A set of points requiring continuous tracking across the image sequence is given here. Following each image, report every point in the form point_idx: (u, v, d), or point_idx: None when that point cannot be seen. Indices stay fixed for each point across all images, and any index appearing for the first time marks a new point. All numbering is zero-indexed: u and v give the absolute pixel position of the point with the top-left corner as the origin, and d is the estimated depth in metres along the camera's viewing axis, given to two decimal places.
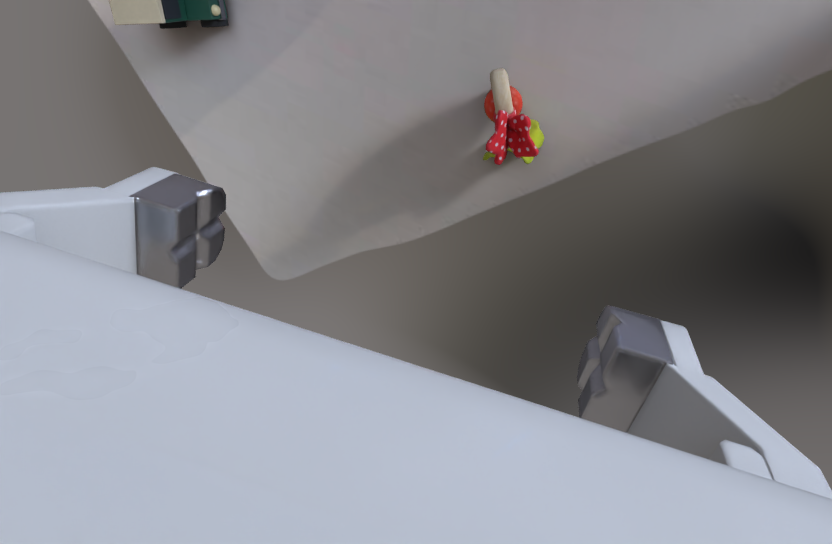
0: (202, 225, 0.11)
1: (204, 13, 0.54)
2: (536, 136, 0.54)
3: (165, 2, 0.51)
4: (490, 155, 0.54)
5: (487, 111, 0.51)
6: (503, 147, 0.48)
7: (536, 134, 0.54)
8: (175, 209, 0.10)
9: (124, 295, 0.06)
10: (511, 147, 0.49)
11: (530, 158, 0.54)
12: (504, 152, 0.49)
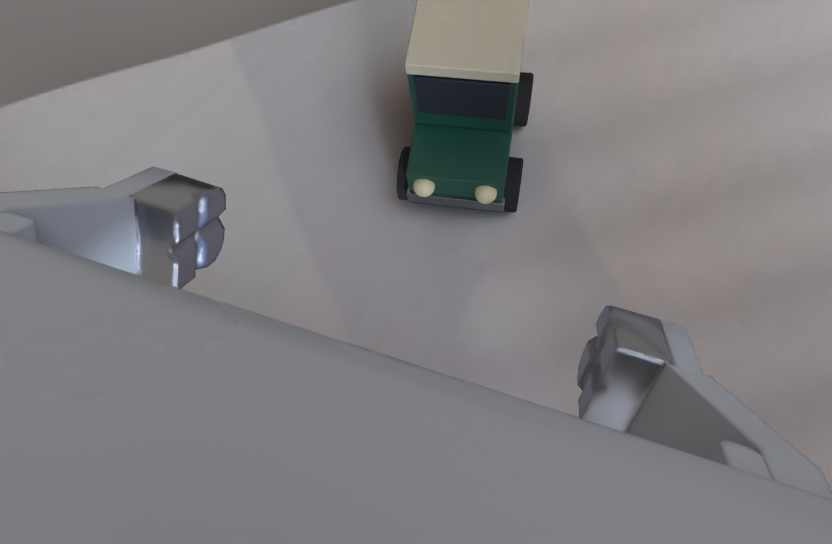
0: (202, 225, 0.11)
1: (420, 162, 0.25)
2: None
3: (449, 86, 0.22)
4: None
5: None
6: None
7: None
8: (175, 209, 0.10)
9: (125, 295, 0.06)
10: None
11: None
12: None
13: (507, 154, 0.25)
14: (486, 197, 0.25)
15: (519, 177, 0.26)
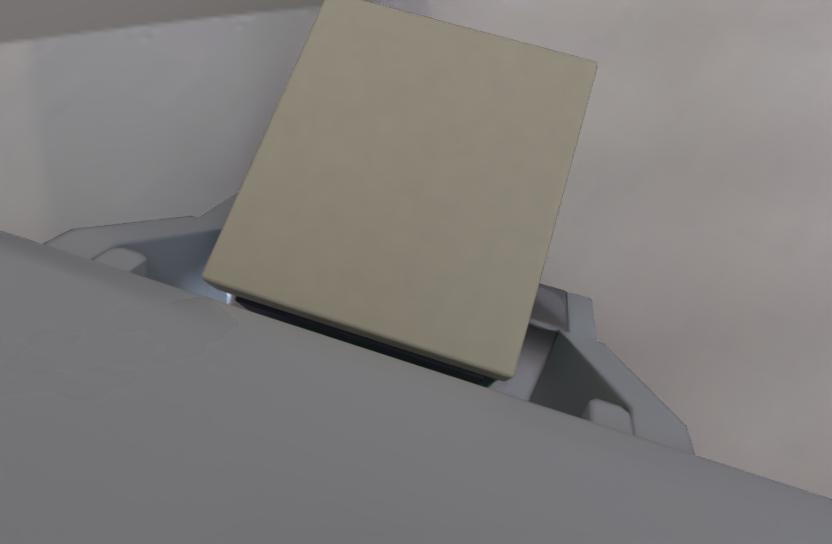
0: None
1: None
2: None
3: (328, 333, 0.08)
4: None
5: None
6: None
7: None
8: None
9: (126, 295, 0.06)
10: None
11: None
12: None
13: None
14: None
15: None
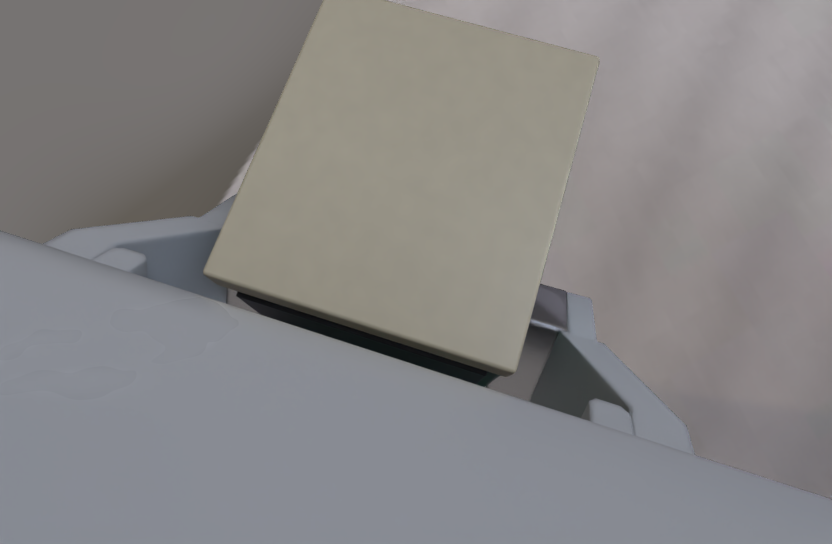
0: None
1: None
2: None
3: (329, 329, 0.08)
4: None
5: None
6: None
7: None
8: None
9: (125, 295, 0.06)
10: None
11: None
12: None
13: None
14: None
15: None
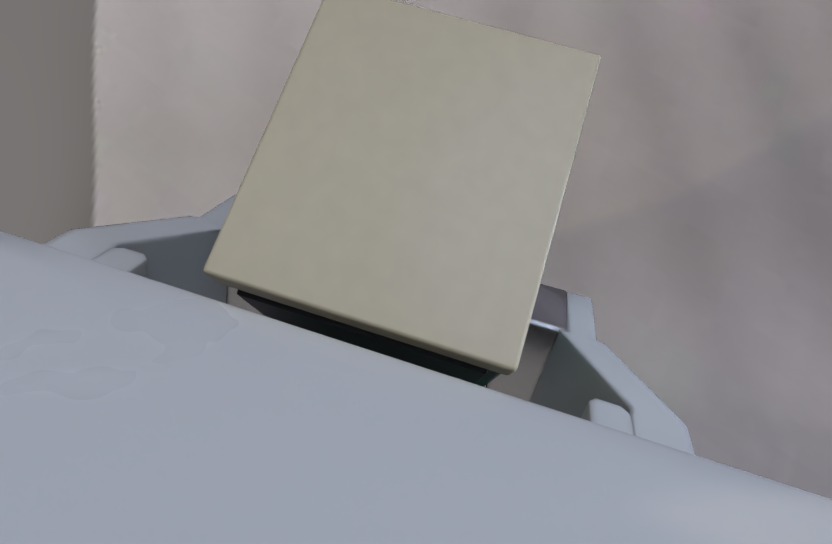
0: None
1: None
2: None
3: (330, 327, 0.08)
4: None
5: None
6: None
7: None
8: None
9: (126, 295, 0.06)
10: None
11: None
12: None
13: None
14: None
15: None
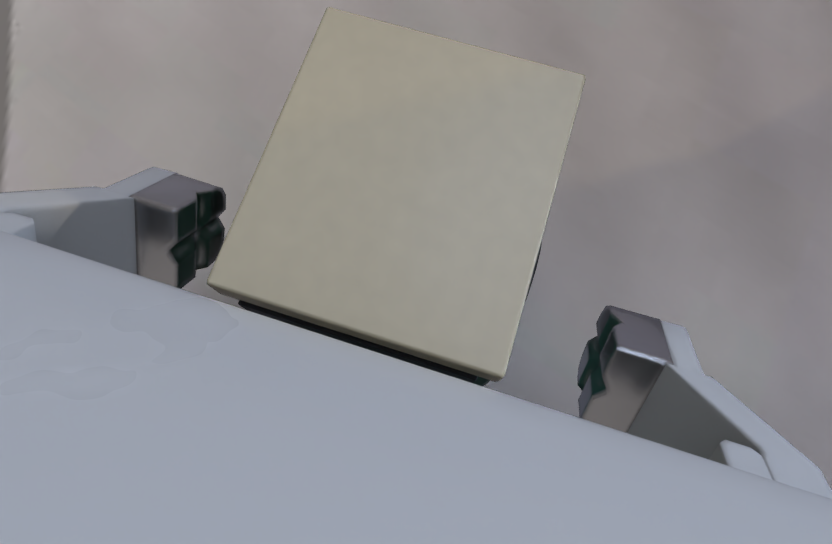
0: (202, 225, 0.11)
1: None
2: None
3: (328, 336, 0.09)
4: None
5: None
6: None
7: None
8: (175, 209, 0.10)
9: (126, 295, 0.06)
10: None
11: None
12: None
13: None
14: None
15: None
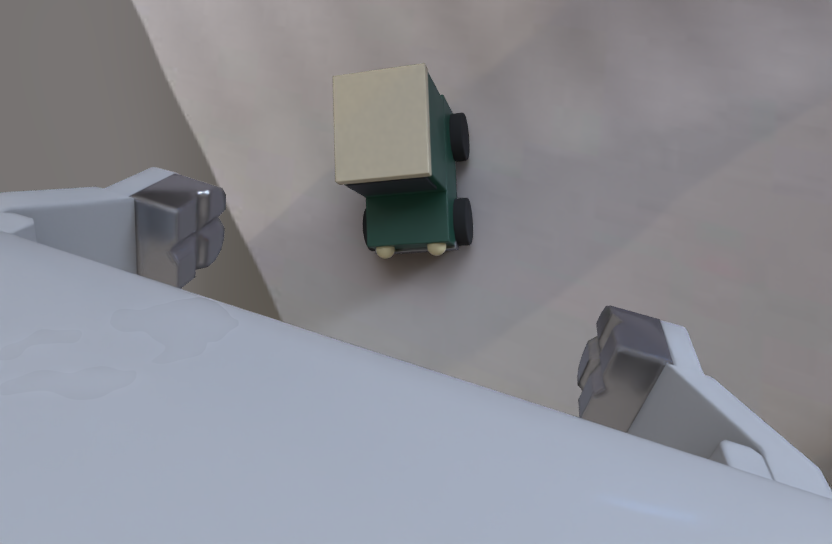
0: (202, 225, 0.11)
1: (377, 233, 0.29)
2: None
3: (378, 185, 0.26)
4: None
5: None
6: None
7: None
8: (175, 209, 0.10)
9: (125, 295, 0.06)
10: None
11: None
12: None
13: (446, 212, 0.29)
14: (437, 252, 0.29)
15: (464, 221, 0.30)
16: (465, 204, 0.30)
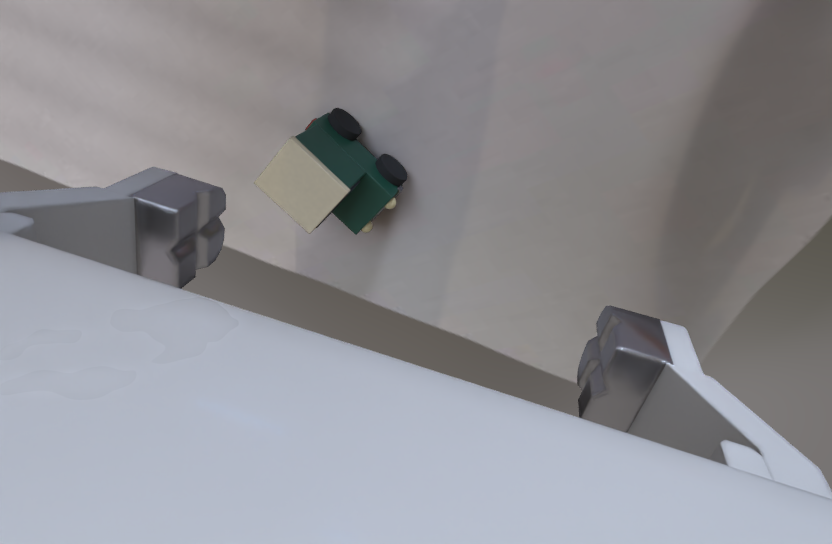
0: (202, 225, 0.11)
1: (353, 224, 0.42)
2: None
3: (330, 213, 0.38)
4: None
5: None
6: None
7: None
8: (175, 209, 0.10)
9: (126, 295, 0.06)
10: None
11: None
12: None
13: (377, 183, 0.40)
14: (392, 206, 0.41)
15: (391, 174, 0.41)
16: (383, 163, 0.41)
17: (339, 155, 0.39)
